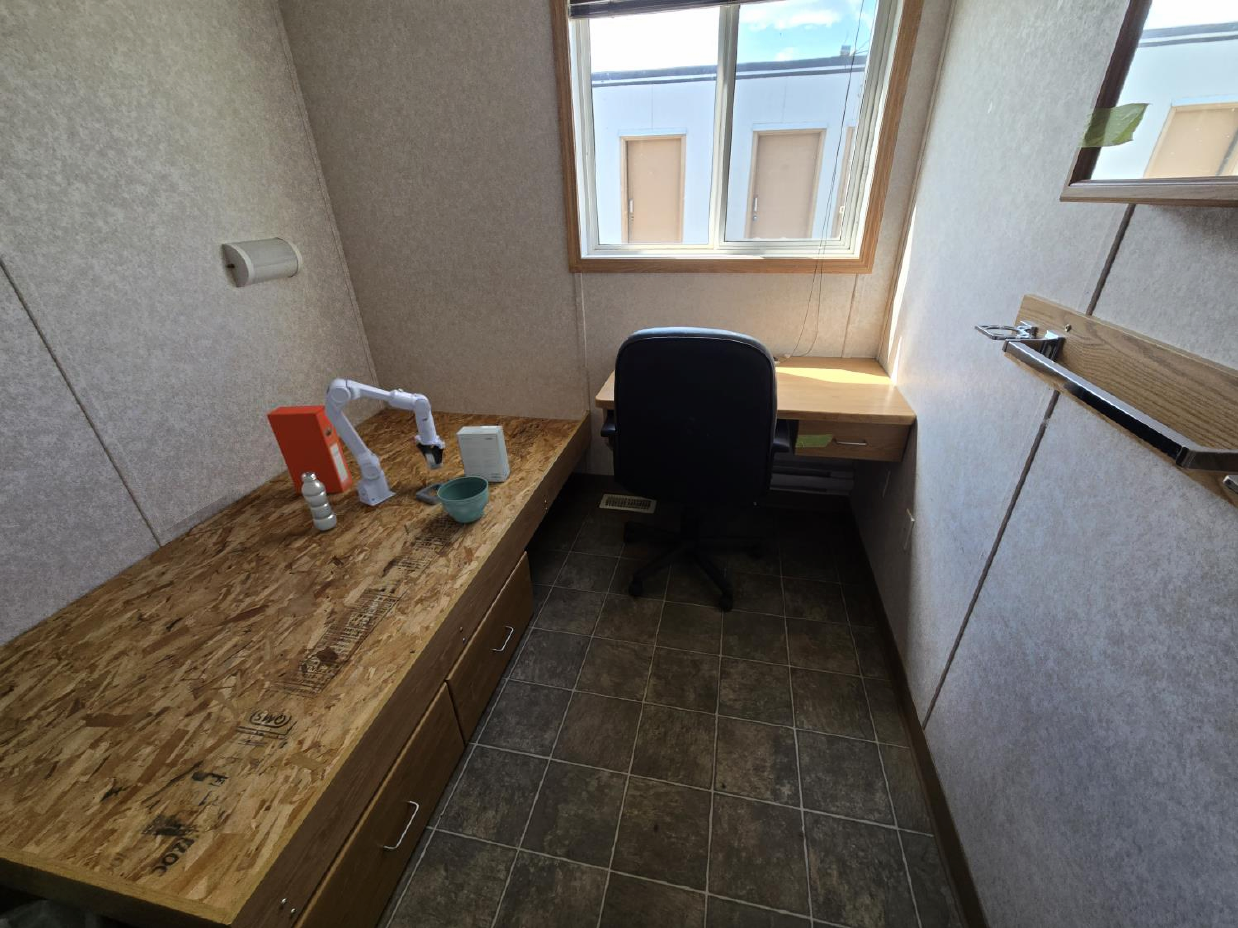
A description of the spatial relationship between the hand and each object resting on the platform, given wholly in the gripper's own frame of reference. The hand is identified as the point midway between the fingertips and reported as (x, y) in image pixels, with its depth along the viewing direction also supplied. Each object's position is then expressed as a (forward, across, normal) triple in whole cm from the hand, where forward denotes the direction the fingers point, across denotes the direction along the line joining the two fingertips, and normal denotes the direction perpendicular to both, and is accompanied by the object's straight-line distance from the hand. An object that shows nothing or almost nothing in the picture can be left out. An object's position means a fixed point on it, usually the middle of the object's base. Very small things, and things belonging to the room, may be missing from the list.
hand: (434, 461), depth 187 cm
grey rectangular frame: (+9, -7, +7) cm, 13 cm away
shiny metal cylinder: (+2, 0, 0) cm, 2 cm away
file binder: (+9, +36, +24) cm, 44 cm away
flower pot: (+9, -28, +11) cm, 31 cm away
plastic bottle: (+9, +9, +39) cm, 41 cm away
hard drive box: (+9, -14, -12) cm, 21 cm away
